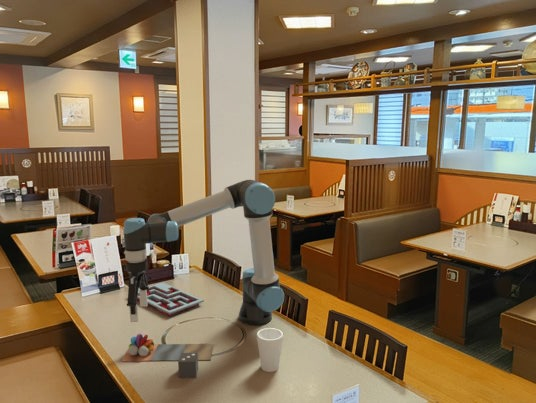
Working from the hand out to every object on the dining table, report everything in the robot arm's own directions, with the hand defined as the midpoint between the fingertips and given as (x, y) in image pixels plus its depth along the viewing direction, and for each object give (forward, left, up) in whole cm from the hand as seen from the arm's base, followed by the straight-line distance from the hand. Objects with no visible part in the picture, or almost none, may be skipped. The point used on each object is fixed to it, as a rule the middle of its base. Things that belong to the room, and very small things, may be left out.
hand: (139, 313), depth 164 cm
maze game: (0, -50, -17) cm, 52 cm away
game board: (-11, 0, -16) cm, 19 cm away
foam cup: (-49, +11, -16) cm, 53 cm away
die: (-20, +14, -16) cm, 29 cm away
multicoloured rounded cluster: (0, 0, -16) cm, 16 cm away
